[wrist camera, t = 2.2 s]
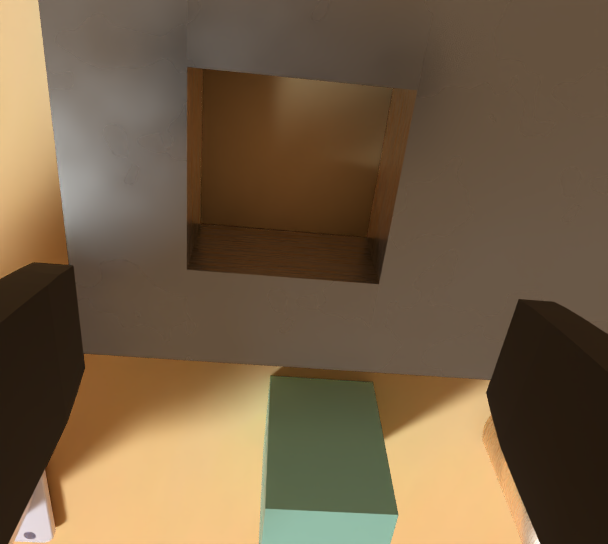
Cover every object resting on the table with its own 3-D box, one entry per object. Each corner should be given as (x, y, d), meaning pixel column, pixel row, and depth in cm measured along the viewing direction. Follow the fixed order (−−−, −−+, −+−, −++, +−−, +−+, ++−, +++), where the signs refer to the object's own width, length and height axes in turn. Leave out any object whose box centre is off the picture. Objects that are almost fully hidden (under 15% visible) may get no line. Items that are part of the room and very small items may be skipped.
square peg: (263, 448, 24) (256, 588, 19) (270, 375, 22) (265, 508, 17) (357, 454, 24) (376, 592, 19) (372, 381, 22) (398, 515, 17)
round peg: (472, 460, 25) (520, 598, 20) (497, 390, 23) (558, 523, 18) (561, 465, 25) (632, 602, 20) (593, 396, 23) (682, 529, 18)
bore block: (105, 299, 20) (79, 353, 18) (72, -108, 14) (24, -117, 12) (597, 334, 22) (639, 389, 19) (756, -24, 16) (850, -16, 13)
